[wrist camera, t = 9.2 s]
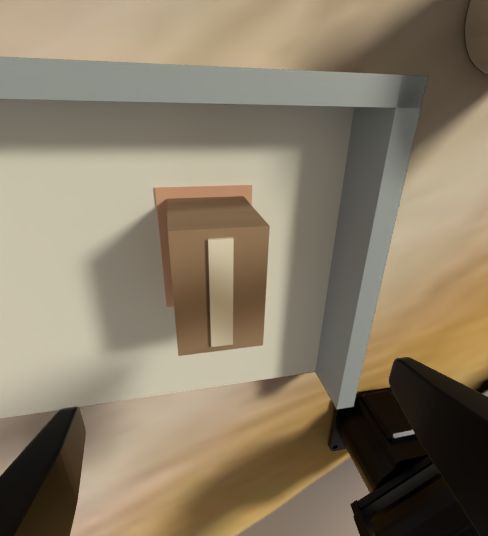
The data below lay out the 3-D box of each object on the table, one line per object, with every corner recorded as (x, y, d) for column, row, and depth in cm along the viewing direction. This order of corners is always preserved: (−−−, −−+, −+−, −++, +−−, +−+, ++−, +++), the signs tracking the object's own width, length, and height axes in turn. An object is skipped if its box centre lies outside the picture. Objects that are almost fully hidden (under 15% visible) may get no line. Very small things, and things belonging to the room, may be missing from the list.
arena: (323, 359, 26) (353, 406, 22) (-7, 405, 21) (-47, 476, 17) (366, 83, 18) (428, 76, 14) (-154, 62, 13) (-298, 42, 9)
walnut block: (166, 198, 17) (167, 232, 12) (243, 196, 18) (270, 226, 13) (175, 299, 19) (178, 358, 15) (241, 293, 20) (263, 347, 16)
